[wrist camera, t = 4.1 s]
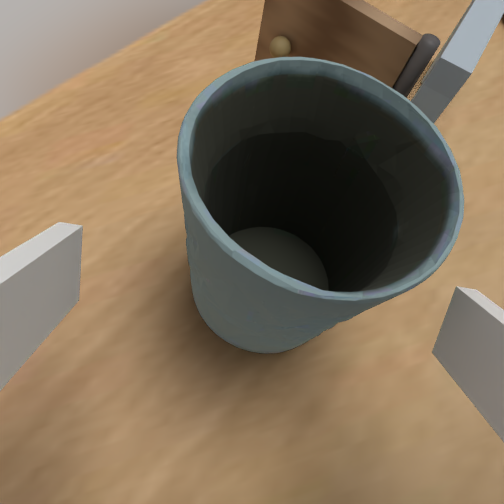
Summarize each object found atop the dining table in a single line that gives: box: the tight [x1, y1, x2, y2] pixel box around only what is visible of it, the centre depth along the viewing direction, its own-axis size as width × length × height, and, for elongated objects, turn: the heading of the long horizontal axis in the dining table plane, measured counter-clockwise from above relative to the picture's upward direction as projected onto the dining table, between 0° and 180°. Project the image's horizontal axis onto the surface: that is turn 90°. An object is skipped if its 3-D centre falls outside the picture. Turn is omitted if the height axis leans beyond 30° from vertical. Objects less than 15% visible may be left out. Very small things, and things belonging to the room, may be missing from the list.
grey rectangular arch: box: [411, 0, 504, 124], centre depth 27 cm, size 18×2×12 cm, turn 148°
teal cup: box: [177, 57, 464, 353], centre depth 19 cm, size 10×10×12 cm
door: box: [255, 0, 440, 98], centre depth 26 cm, size 10×2×9 cm, turn 53°
